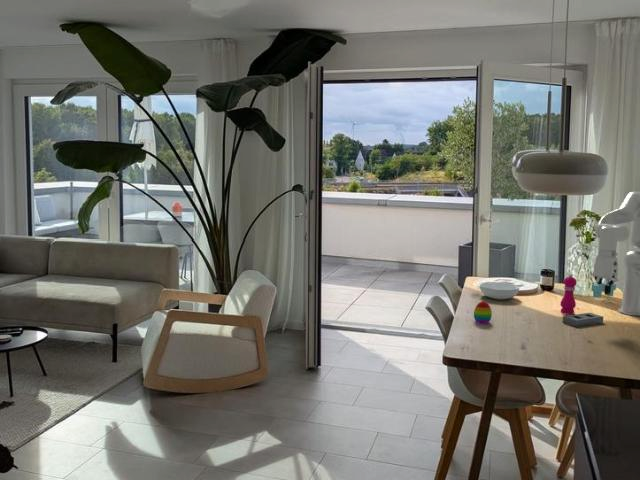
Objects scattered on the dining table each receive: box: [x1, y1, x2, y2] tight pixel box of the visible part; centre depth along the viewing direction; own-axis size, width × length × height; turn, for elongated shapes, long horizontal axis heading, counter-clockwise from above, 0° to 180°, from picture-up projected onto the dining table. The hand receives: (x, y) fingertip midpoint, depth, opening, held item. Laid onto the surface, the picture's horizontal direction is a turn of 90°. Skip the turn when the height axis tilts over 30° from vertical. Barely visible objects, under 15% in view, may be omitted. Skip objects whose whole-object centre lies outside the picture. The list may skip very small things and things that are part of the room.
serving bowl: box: [479, 281, 520, 301], centre depth 359 cm, size 21×21×7 cm
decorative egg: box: [473, 300, 493, 324], centre depth 309 cm, size 8×8×10 cm
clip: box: [591, 282, 617, 299], centre depth 302 cm, size 12×4×6 cm, turn 118°
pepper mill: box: [559, 273, 577, 315], centre depth 329 cm, size 7×7×20 cm
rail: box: [562, 312, 604, 328], centre depth 313 cm, size 18×8×3 cm, turn 117°
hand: (603, 292), depth 302 cm, fingers closed on clip, 3 cm apart
